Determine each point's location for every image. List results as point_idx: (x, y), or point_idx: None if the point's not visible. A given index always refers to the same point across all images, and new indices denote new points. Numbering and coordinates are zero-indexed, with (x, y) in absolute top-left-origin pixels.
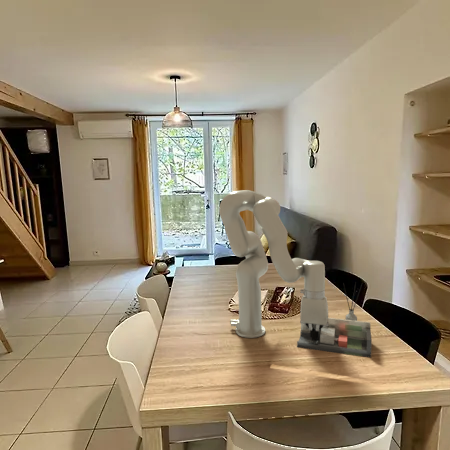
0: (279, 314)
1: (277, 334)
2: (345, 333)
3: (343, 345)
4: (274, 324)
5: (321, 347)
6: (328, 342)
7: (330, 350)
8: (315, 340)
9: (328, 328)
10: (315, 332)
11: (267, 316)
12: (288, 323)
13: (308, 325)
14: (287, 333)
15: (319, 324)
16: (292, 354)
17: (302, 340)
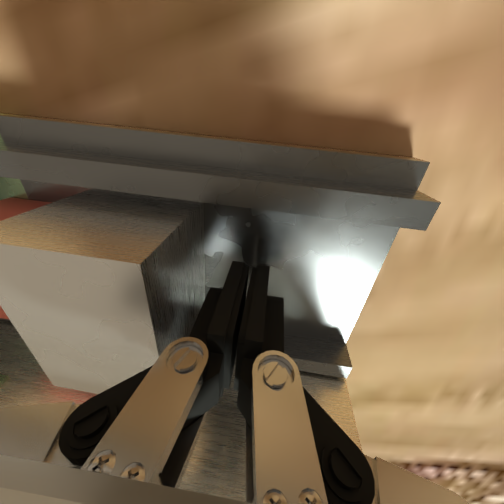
0: None
1: (492, 358)
2: None
3: (5, 210)
4: (463, 433)
5: (180, 166)
6: (101, 210)
7: (112, 155)
8: (237, 261)
9: (103, 384)
10: (218, 320)
11: (471, 477)
12: (379, 435)
13: (313, 436)
14: (414, 368)
15: (20, 477)
16: (497, 38)
17: (342, 285)
